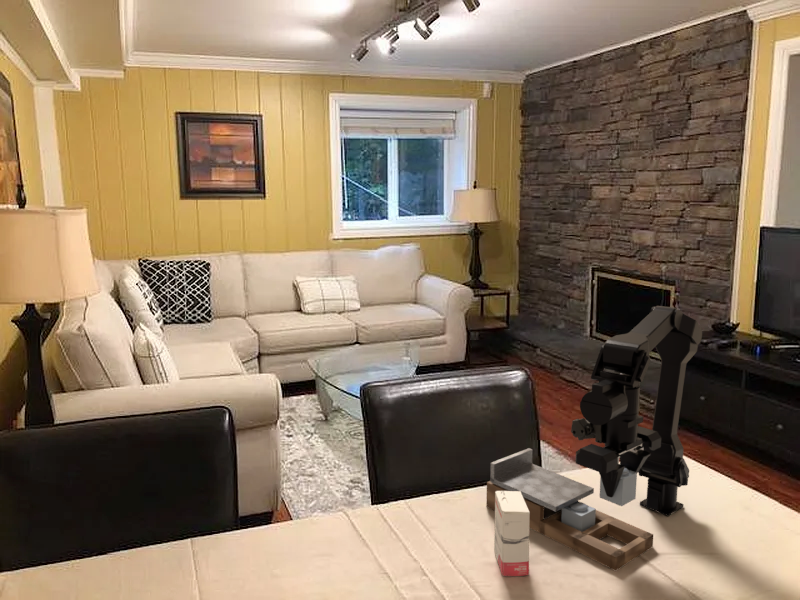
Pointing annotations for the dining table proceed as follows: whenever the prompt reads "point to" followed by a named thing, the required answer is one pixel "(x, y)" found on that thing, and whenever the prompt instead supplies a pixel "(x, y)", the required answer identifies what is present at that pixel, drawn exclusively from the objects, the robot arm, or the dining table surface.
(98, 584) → the dining table surface
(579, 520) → the pale blue studded block
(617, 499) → the domed grey cube
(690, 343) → the robot arm
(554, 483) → the lid
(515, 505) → the ink box
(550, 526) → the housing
